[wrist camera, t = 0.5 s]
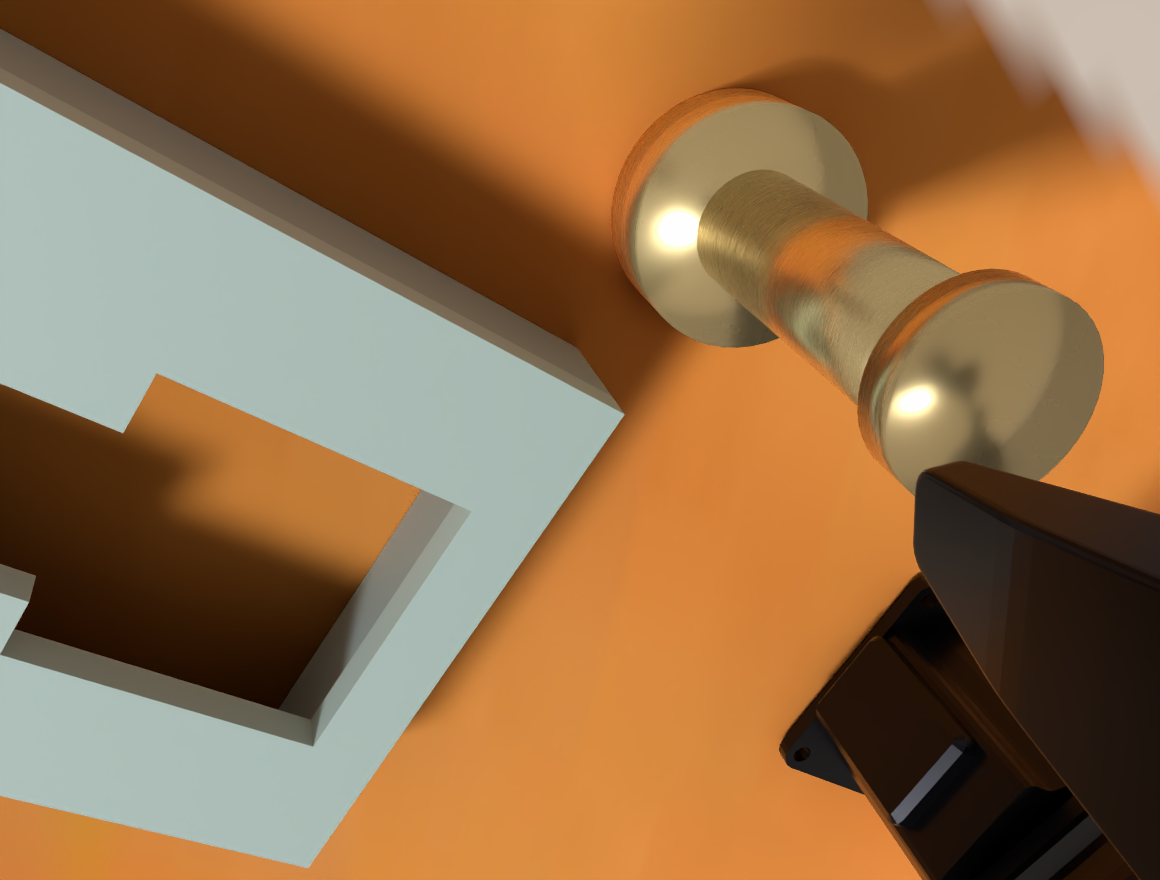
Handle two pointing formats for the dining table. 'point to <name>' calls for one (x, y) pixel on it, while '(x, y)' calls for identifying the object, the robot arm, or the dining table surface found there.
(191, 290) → the keyhole plate
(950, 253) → the dining table surface
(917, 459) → the brass door knob
